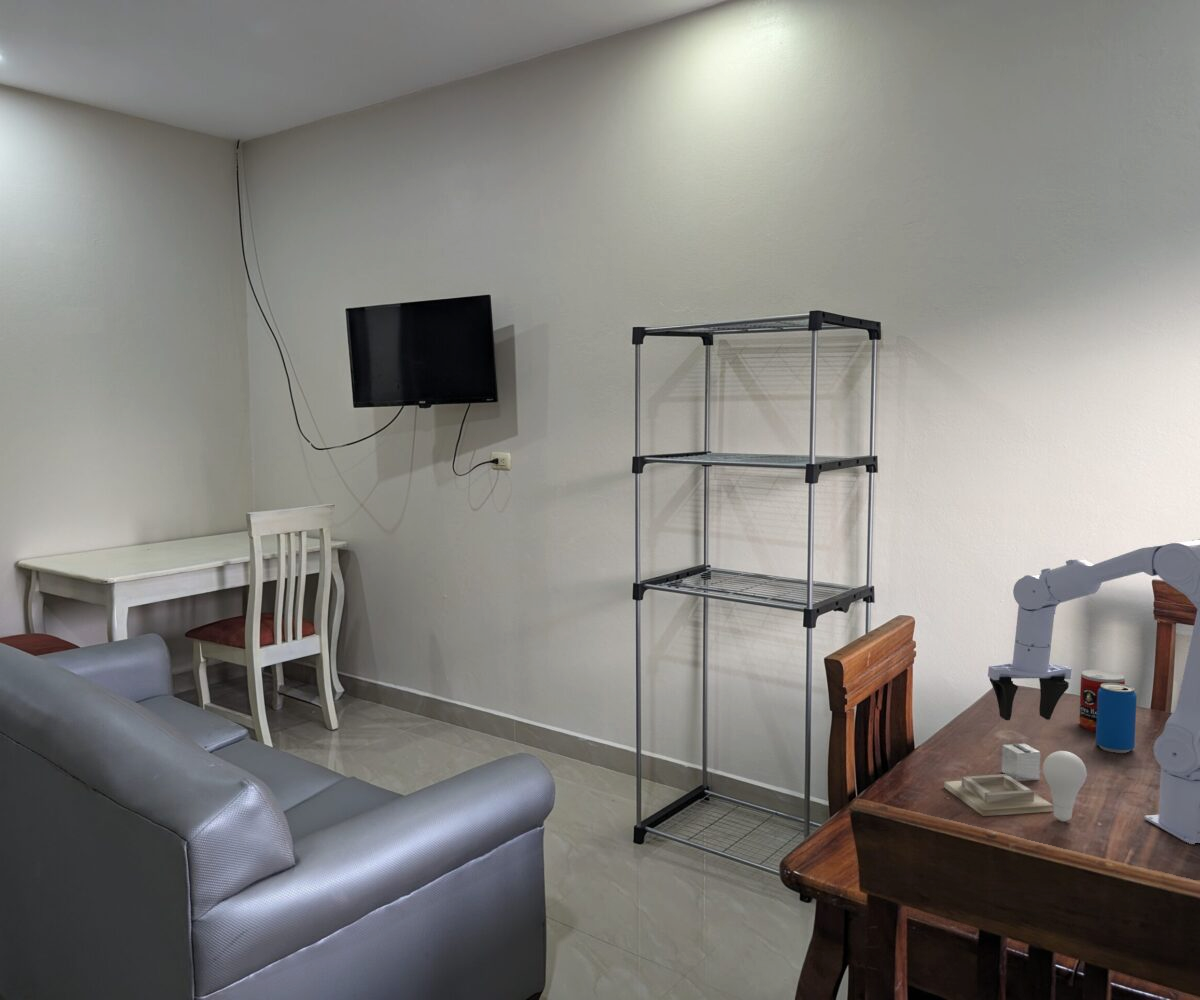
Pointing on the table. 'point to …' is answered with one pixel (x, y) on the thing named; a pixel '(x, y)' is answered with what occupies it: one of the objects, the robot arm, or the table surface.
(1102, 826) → the table surface
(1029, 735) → the table surface
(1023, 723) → the table surface
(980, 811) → the beige square tray
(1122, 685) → the beverage can
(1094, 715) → the canned food
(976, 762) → the table surface
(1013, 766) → the block
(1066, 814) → the lightbulb
